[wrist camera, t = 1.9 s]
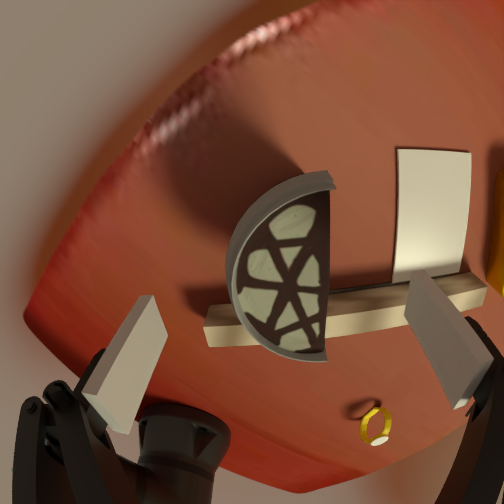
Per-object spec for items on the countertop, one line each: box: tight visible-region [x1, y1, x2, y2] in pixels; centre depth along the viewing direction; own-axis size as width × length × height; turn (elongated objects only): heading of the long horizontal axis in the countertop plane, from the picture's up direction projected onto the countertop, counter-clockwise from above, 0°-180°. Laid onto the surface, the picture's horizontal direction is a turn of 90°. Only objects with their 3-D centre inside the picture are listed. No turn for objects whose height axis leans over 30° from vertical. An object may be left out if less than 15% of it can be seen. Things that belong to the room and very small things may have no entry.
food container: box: [225, 170, 336, 362], centre depth 20 cm, size 12×6×10 cm, turn 5°
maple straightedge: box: [203, 272, 488, 347], centre depth 25 cm, size 30×3×4 cm, turn 97°
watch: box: [359, 407, 392, 446], centre depth 33 cm, size 6×3×6 cm, turn 156°
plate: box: [392, 149, 471, 283], centre depth 22 cm, size 9×13×1 cm
